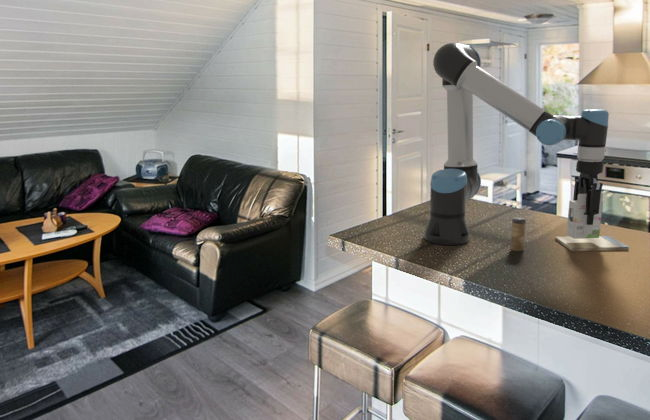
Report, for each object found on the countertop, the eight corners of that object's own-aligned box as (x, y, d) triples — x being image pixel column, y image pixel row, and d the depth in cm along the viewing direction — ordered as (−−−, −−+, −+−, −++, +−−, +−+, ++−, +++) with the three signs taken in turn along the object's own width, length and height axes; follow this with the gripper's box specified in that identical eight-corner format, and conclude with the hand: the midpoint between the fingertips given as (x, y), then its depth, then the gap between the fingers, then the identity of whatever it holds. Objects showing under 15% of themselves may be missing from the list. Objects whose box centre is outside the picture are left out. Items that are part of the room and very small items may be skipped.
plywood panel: (570, 250, 163) (571, 247, 163) (554, 239, 175) (555, 236, 174) (628, 250, 163) (628, 246, 162) (608, 238, 174) (609, 235, 174)
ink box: (591, 233, 170) (596, 189, 166) (599, 238, 165) (604, 193, 162) (565, 234, 170) (569, 190, 166) (572, 239, 165) (577, 193, 161)
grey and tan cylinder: (512, 251, 164) (514, 220, 161) (508, 247, 168) (510, 217, 165) (525, 251, 164) (527, 220, 161) (521, 247, 168) (523, 217, 165)
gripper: (617, 164, 152) (608, 239, 158) (588, 155, 170) (581, 223, 176) (592, 164, 153) (584, 239, 158) (565, 155, 170) (559, 223, 176)
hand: (582, 231), depth 167 cm, fingers closed on ink box, 5 cm apart
